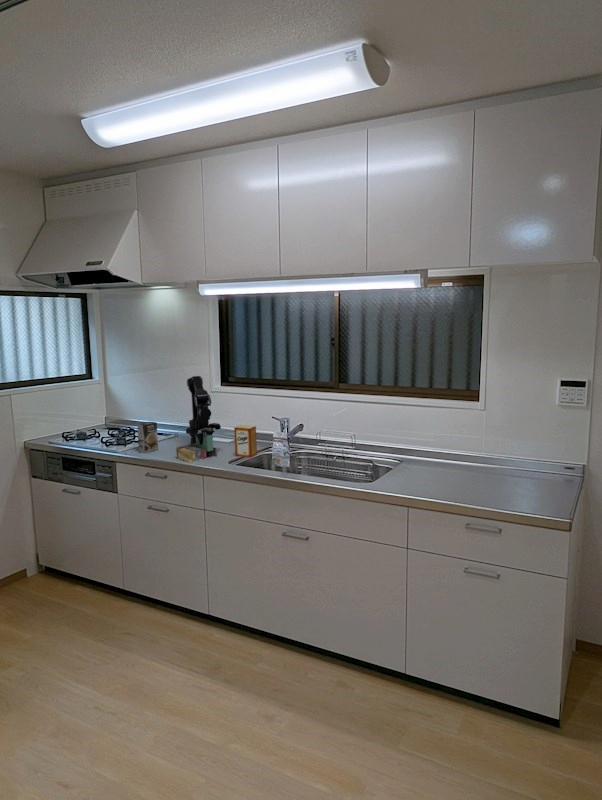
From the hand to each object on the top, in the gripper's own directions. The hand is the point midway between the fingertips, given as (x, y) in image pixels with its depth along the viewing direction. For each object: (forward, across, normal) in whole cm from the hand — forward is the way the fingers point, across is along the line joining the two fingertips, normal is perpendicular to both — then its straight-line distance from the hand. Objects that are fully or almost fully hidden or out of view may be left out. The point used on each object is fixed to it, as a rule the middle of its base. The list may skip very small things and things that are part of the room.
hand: (204, 444), depth 302 cm
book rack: (+6, +5, 0) cm, 8 cm away
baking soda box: (+7, -16, +16) cm, 23 cm away
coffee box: (+7, +15, -34) cm, 38 cm away
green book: (+3, 0, 0) cm, 3 cm away
